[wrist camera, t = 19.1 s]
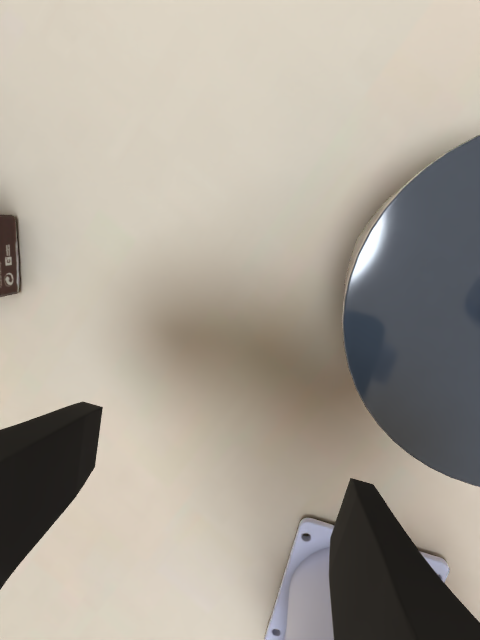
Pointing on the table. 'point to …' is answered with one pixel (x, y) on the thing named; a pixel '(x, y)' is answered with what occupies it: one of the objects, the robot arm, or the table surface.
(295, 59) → the table surface
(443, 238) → the lid
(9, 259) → the box
